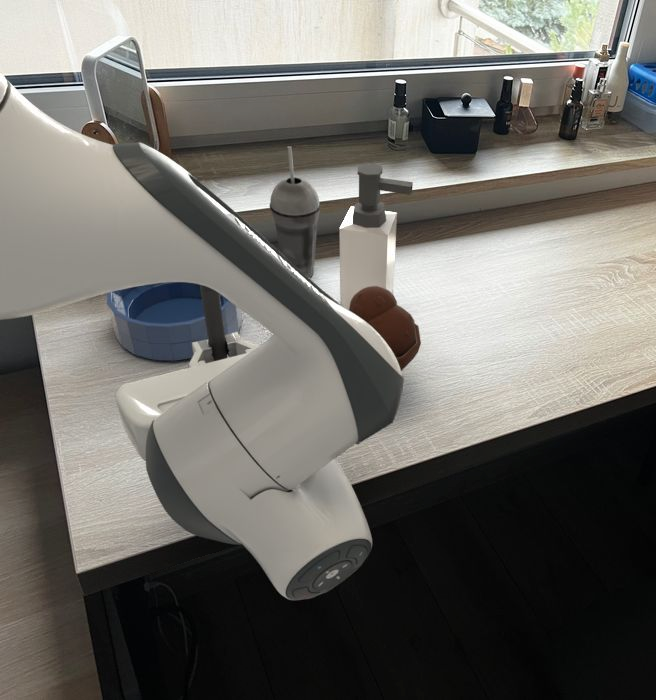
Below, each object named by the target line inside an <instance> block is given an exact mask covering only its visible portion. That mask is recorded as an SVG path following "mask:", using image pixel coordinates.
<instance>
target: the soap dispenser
mask: <svg viewBox="0 0 656 700" xmlns="http://www.w3.org/2000/svg"><path fill="white" fill-rule="evenodd" d="M382 174H383V165H380V164H377V163H373V162H371V163H370V162H363V163H362V164H360V165H358V166H357V176H358V201H357V202H356V203H354V204H353V206H352V205H351V206H350V208H349V210H348V211H347V213H346V215H345V217H344V220H343V221H342V223H341V225H340V227H339V301H340V302H339V304H341V305H342V306H343V307H344V308H345V309H347V310H349V307H350V302H351V299H352V298H353V296H354V295H355V294H356V293H357V292H359V291H360V290H362V289H363V288H366V287H370V286H379V287H382V288H384V289H386V290H389V291H390V292H391V293H392V294H393V295H394V288H395V268H396V267H395V266H396V265H395V264H396V243H397V242H396V241H397V220H398V212H395V211H394V212H393V211H386V208H385V207H386V206H385V202H382V201H381V191H382V192H388V193H395V194H401V195H407V196H408V195H409V196H411V195H412V192H413V185H414V184H413V183H414V182H413V181H408V180H400V179H391V178H383V177H381V176H382Z"/></svg>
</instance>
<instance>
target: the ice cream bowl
mask: <svg viewBox="0 0 656 700" xmlns="http://www.w3.org/2000/svg"><path fill="white" fill-rule="evenodd" d="M349 311H351V312H352V313H354V314H356V315H357V316H359V317H360V318H361V319H363V320H364V321H366V322H367V323H368V324H369V325H370V326H372V327H373V328H374V329H375V330H376V331H377V332H378V333H379V334H380V335H381V337H382V338H383V339H384V340H385V342H386V343H387V344H388V346H389V347H390V349H391V350H392V352H393V353H394V355H395V357H396V359H397V361H398V364H399V366H400V370H401V372H402V371H403V370H404V369H405V368H406V367H407V366H408V365H409V364H410V363H411V362H412V361H413V360H414V359H415V358H416V357H417V355H418V354H419V350H420V348H421V346H422V345H421V344H422V340H421V334H420V329H419V325H417V324H416V323H415V319H414V317H413V316H412V314H411V313H410V312H408V311H407V310H406V309H404V308H403V307H402V306H400V305H399V304H398V301H397V299H396V296H395V295H394V293H393V294H392V293H391V292H390V291H389V290H386V289H384V288H382V287H379V286H370V287H366V288H363V289H362V290H360V291H359V292H357V293H356V294H355V295H354V296H353V298H352V299H351V302H350V307H349Z"/></svg>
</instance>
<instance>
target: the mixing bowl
mask: <svg viewBox="0 0 656 700" xmlns="http://www.w3.org/2000/svg"><path fill="white" fill-rule="evenodd" d="M220 301H221V309H222V317H223V324H224V332H225V335H228V334H232V333H235V332H238V333H239V331H240V328H241V325H242V321H243V315H242V310H241V309H240V308H238V307H237V306H236V305H234V304H233V303H232V302H230V301H229V300H228V299H226V298H225V297H224V296H223V295H221V294H220ZM106 304H107V309H108V313H109V316H110V320H111V321H110V322H111V325H112V328H113V332H114V336H115V338H116V340H117V341H118V342H119V344H120V346H121V347H122V348H123V349H125V350H126V351H128V352H129V353H131V354H133V355H135V356H137V357H141V358H146V359H150V360H154V361H171V362H172V361H180V360H186V359H188V360H189V359H192V357H193V355H194V353H193V348H192V343H193V342H197V341H202V340H206V339H207V340H208V336H207V330H206V323H205V316H204V310H203V303H202V296H201V289H200V284H196V283H188V282H165V283H156V284H149V285H143V286H137V287H131V288H127V289H122V290H118V291H113V292H109V293H106Z"/></svg>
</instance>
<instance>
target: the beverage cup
mask: <svg viewBox="0 0 656 700" xmlns="http://www.w3.org/2000/svg"><path fill="white" fill-rule="evenodd" d="M292 149H293V148H292V146H287V154H288V164H289V175H290V176H289V177H287V178H286V177H285V178H283V179H282V180H280V181H279V182H278V183H277V184H275V186H274V188H273V190H272V192H271V195H270V199H269V200H270V202H269V209H270V211H271V215H272V218H273V221H274V225H275V231H276V237H277V241H278V250H279V252H280V253H282V254H283V255H284V256H285V257H286V258H287V259H288V260H289V261H290V262H292V263H293V264H294V265H295V266H296V267H297V268H298V269H299V270H300V271H302V272H303V273H304V274H305V275H306V276H307V277H308V278H309V279H311V277H312V276H313V275H314V273H315V272H314V269H315V263H316V249H317V232H318V220H319V215H320V210H321V207H322V206H321V203H320V198H319V195H318V192H317V190H316V189H315V188H314V186H313V185H312V183H310V182H308V180H306V179H303V178H301V177H295V172H294V161H293V150H292Z"/></svg>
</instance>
